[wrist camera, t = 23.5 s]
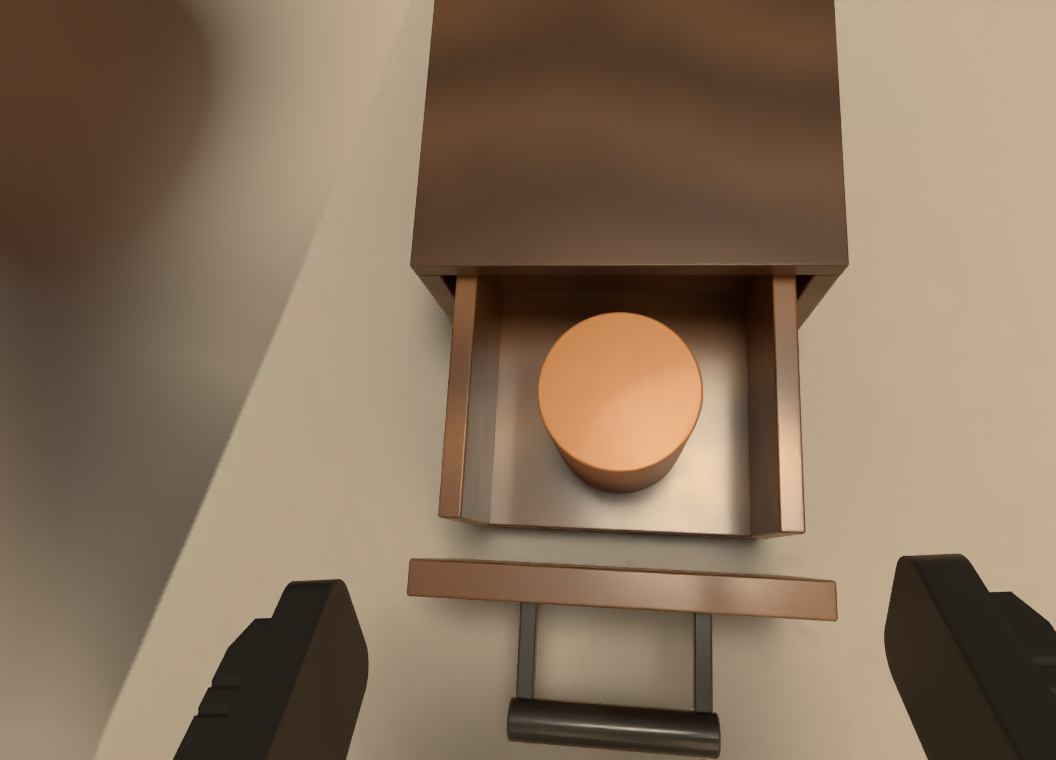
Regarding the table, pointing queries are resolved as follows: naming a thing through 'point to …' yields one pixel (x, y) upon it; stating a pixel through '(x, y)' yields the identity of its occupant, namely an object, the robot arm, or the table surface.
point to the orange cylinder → (620, 399)
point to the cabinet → (632, 142)
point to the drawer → (664, 508)
